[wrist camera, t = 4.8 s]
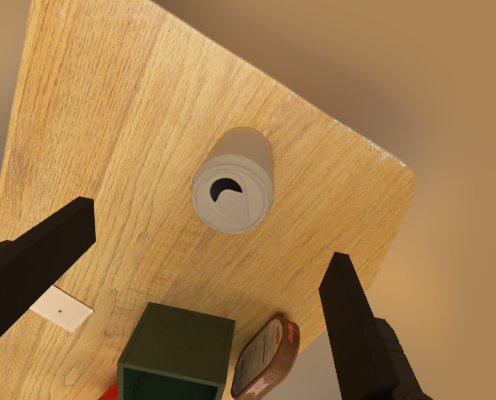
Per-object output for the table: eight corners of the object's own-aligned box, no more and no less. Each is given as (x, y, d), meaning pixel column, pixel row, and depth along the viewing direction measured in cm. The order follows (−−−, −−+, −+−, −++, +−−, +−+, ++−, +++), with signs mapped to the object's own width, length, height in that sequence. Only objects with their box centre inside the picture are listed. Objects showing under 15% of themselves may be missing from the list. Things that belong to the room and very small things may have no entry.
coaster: (28, 308, 45) (24, 312, 44) (48, 282, 42) (44, 286, 41) (72, 333, 47) (69, 337, 46) (93, 310, 44) (90, 314, 43)
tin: (248, 363, 47) (243, 420, 39) (232, 355, 46) (223, 412, 39) (299, 310, 40) (305, 367, 33) (281, 301, 40) (283, 356, 32)
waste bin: (235, 320, 42) (225, 385, 34) (221, 372, 48) (210, 438, 40) (148, 301, 42) (116, 362, 34) (145, 356, 48) (117, 419, 40)
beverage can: (260, 116, 29) (253, 145, 18) (281, 170, 31) (285, 224, 20) (206, 138, 30) (170, 178, 19) (230, 188, 33) (209, 248, 22)
